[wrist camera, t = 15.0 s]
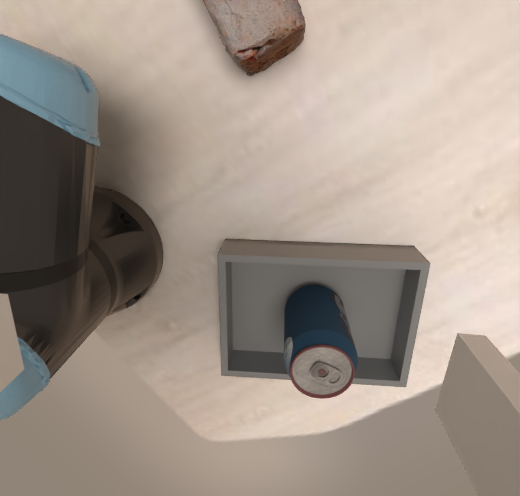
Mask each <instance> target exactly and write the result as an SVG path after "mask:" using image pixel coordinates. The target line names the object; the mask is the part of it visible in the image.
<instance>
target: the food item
mask: <svg viewBox="0 0 520 496" xmlns="http://www.w3.org/2000/svg"><path fill="white" fill-rule="evenodd" d="M203 1H204V3H205V5H206V7H207V9H208V11H209V13H210V15H211V17H212V19H213V21H214V23H215V24H216V25H217V27H218V29H219V32H220V34H221V36H220V38H221V40H222V42H223V44H224V45H225V46H226V51H227V52H228V53H229V54H230V55H231V56H232V58H233V59H234V61H235V62H236V63H237V65H238V66H239V67H241V68H242V69H243V70H244V71H245V72H246V73H247V75H249V76H252V75H253V74H256V73H258V72H260V71H264V70H266V69H267V68H268V67H270V66H271V65H272V64H273V63H274V62H276V61H278V60H279V59H281V58H283V57H284V56H286V55H288V54H289V53H290V52H292V51H294V49H295V48H296V47H297V46H298V45H299V44H300V43H301V42H302V41H303V39H304V32H305V20H304V16H303V14H302V11H301V6H300V4H299V3H298V0H203Z"/></svg>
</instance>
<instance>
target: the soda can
mask: <svg viewBox="0 0 520 496" xmlns="http://www.w3.org/2000/svg"><path fill="white" fill-rule="evenodd" d="M357 364H358V355H357V351H356V348H355V344H354V341H353V337H352V334H351V330H350V326H349V323H348V319H347V316H346V312H345V309H344V305H343V302H342V300H341V299H340V297H339V296H338V295H337V294H336V293H335V292H334V291H332V290H331V289H329V288H327V287H324V286H319V285H310V286H305V287H302V288H300V289H298V290H297V291H295V292H294V293H293V294H292V295H291V296H290V297H289V299H288V300H287V302H286V305H285V311H284V366H285V369H286V371H287V373H288V375H289V376H290V378H291V380H292V382H293V384H294V386H295V387H296V388H297V389H298V390H299V391H300V392H302V393H303V394H305V395H307V396H310V397H314V398H331V397H335V396H337V395H339V394H341V393H343V392H344V391H346V390H347V389H348V388H349V386H350V385H351V383H352V381H353V379H354V374H355V371H356V368H357Z"/></svg>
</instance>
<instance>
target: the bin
mask: <svg viewBox="0 0 520 496" xmlns="http://www.w3.org/2000/svg"><path fill="white" fill-rule="evenodd" d="M429 267H430V262H429V261H428V260H427V259H426V258H425V257H424V256H423V255H422V254H421V253H420V252H419V251H418V250H417V249H416V248H415V247H414V246H400V245H373V244H347V243H320V242H294V241H267V240H241V239H225V241H224V243H223V245H222V247H221V249H220V251H219V253H218V277H219V311H220V344H221V376H237V377H253V378H269V379H284V380H291V378H290V376H289V375H288V373H287V371H286V369H285V366H284V311H285V305H286V302H287V300H288V299H289V297H290V296H291V295H292V294H293V293H294V292H295V291H297V290H298V289H300V288H302V287H305V286H310V285H319V286H324V287H327V288H329V289H331V290H332V291H334V292H335V293H336V294H337V295H338V296H339V297H340V299H341V300H342V302H343V305H344V309H345V312H346V316H347V319H348V323H349V326H350V330H351V334H352V337H353V341H354V344H355V348H356V351H357V355H358V364H357V368H356V371H355V374H354V379H353V381H352V383H351V384H364V385H380V386H395V387H406V384H407V379H408V374H409V369H410V364H411V359H412V354H413V349H414V344H415V339H416V334H417V328H418V323H419V318H420V313H421V308H422V303H423V298H424V293H425V288H426V283H427V278H428V273H429Z"/></svg>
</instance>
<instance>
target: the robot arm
mask: <svg viewBox="0 0 520 496" xmlns="http://www.w3.org/2000/svg"><path fill="white" fill-rule="evenodd" d="M98 109H99V96H98V91H97V88H96V85H95V83H94V81H93V80H92V79H91V77H90V76H89V75H88V74H87V73H86V72H85V71H84V70H83V69H81V68H80V67H79V66H77V65H75V64H73V63H71V62H69V61H66V60H64V59H62V58H60V57H57V56H55V55H52V54H50V53H48V52H45V51H43V50H40V49H38V48H35V47H33V46H30V45H28V44H26V43H23V42H21V41H18V40H16V39H13V38H10V37H8V36H5V35H3V34H0V420H1V419H5V418H8V417H10V416H12V415H13V414H14V413H16V412H17V411H18V410H19V409H21V408H22V407H23V406H24V405H25V404H26V403H27V402H29V401H30V400H31V399H32V398H33V397H34V396H35V395H36V394H38V393H39V392H40V391H42V390H43V389H44V388H45V387H46V386H47V385H48V382H50V378H51V377H52V376H53V375H54V374H55V373H56V372H57V371H58V370H59V368H60V367H61V366H62V365H63V364H64V363H65V362H66V361H67V359H68V358H69V357H70V356H71V355H72V354H73V353H74V352H75V350H76V349H77V348H78V347H79V346H80V345H81V344H82V343H83V342H84V341H85V339H86V338H87V337H88V336H89V335H90V334H91V333H92V332H93V330H94V329H95V328H96V327H97V326H98V325H99V324H100V323H101V322H102V320H103V319H104V318H105V317H106V316H109V315H111V314H113V313H116V312H118V311H121V310H123V309H125V308H128V307H130V306H132V305H133V304H135V303H137V302H138V301H139V300H140V299H142V298H143V297H144V296H145V295H146V294H147V293H148V291H149V290H150V289H151V288H152V286H153V285H154V284H155V282H156V280H157V279H158V277H159V274H160V272H161V268H162V262H163V250H162V244H161V240H160V237H159V234H158V232H157V229H156V227H155V226H154V224H153V222H152V221H151V219H150V218H149V216H148V215H147V214H146V213H145V212H144V211H143V210H142V209H141V208H140V207H139V206H138V205H137V204H136V203H134V202H133V201H132V200H130V199H129V198H127V197H125V196H124V195H122V194H120V193H117V192H115V191H112V190H109V189H105V188H99V187H94V181H95V171H96V160H97V150H98V147H100V144H101V142H100V139H99V138H98ZM435 410H436V412H437V414H438V416H439V418H440V420H441V422H442V424H443V426H444V428H445V430H446V433H447V434H448V437H449V439H450V441H451V442H452V445H453V447H454V448H455V451H456V453H457V455H458V457H459V459H460V460H461V463H462V465H463V466H464V469H465V471H466V473H467V475H468V477H469V479H470V481H471V483H472V485H473V487H474V489H475V491H476V493H477V495H478V496H520V374H519V373H518V372H517V370H516V369H515V368H514V367H513V366H512V365H511V364H510V363H509V361H508V360H507V359H506V358H505V357H504V356H503V355H502V354H501V352H500V351H499V350H498V349H497V348H496V347H495V346H494V345H493V344H492V342H491V341H490V340H489V339H488V338H487V337H486V336H482V335H470V334H459V333H457V337H456V340H455V344H454V347H453V350H452V354H451V357H450V361H449V364H448V367H447V371H446V374H445V378H444V381H443V384H442V388H441V391H440V395H439V398H438V401H437V405H436V408H435Z"/></svg>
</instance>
